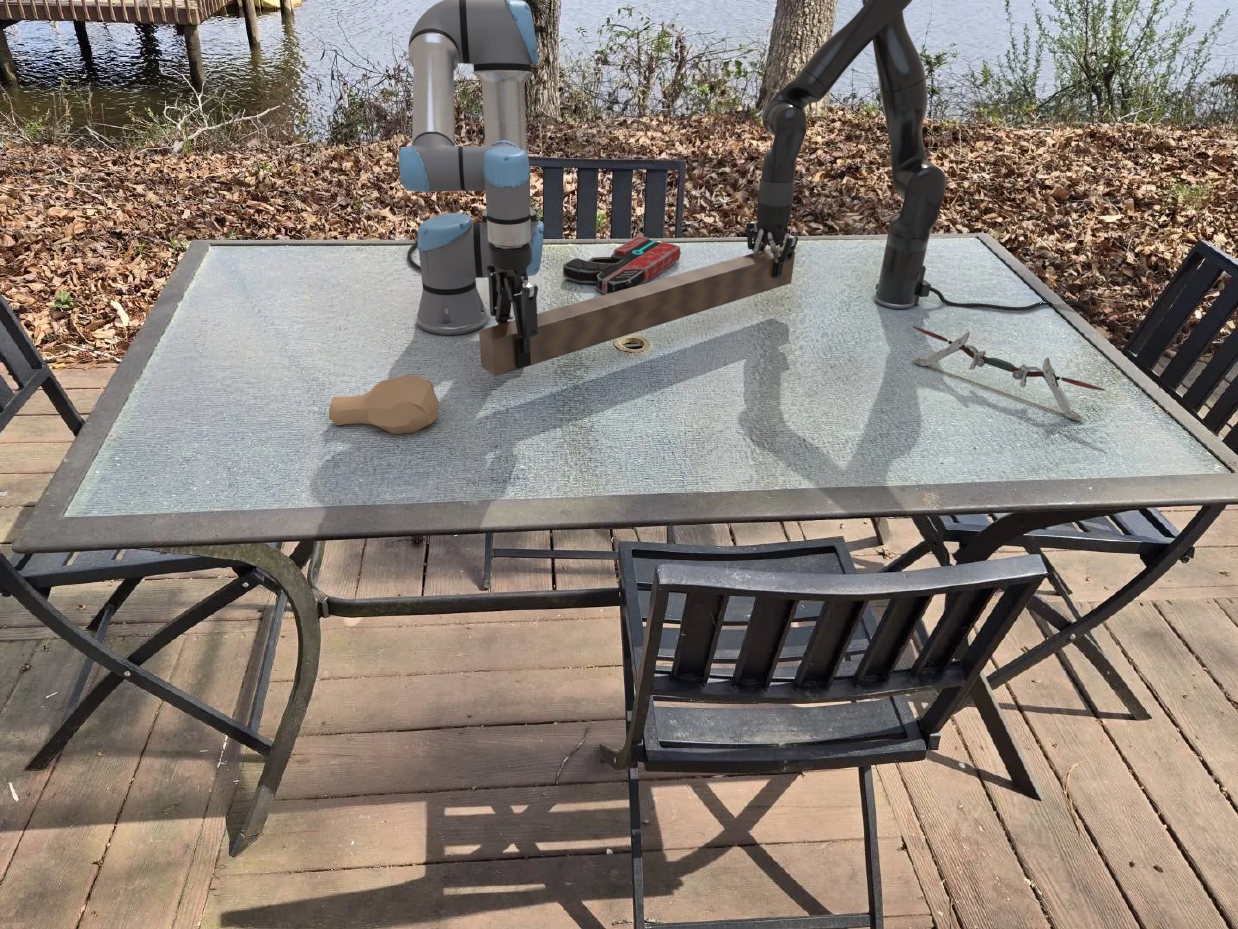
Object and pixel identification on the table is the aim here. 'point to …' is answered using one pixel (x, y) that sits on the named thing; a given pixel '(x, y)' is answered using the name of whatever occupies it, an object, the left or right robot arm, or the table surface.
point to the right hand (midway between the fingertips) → (766, 273)
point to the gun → (624, 265)
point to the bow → (1018, 373)
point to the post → (633, 310)
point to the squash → (390, 405)
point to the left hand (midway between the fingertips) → (515, 359)
